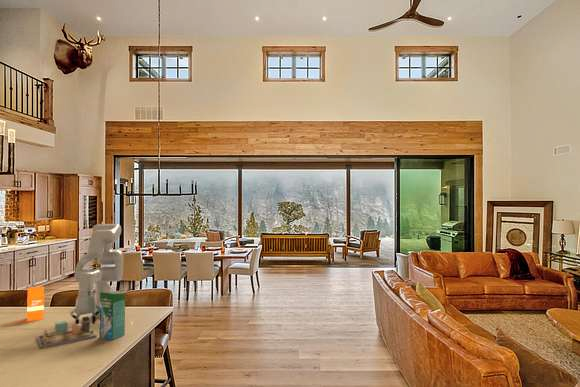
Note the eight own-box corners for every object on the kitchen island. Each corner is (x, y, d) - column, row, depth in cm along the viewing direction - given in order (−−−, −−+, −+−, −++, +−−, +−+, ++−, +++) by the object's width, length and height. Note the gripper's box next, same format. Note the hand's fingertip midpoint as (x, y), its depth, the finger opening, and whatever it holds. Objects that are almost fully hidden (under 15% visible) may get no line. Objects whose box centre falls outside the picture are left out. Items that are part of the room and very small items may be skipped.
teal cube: (65, 329, 208) (65, 320, 208) (67, 332, 204) (67, 322, 204) (55, 331, 205) (55, 322, 205) (56, 334, 201) (56, 324, 201)
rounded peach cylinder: (80, 332, 204) (80, 322, 205) (81, 334, 201) (81, 324, 201) (71, 333, 202) (71, 324, 202) (72, 335, 198) (72, 326, 198)
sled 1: (87, 329, 216) (87, 315, 216) (89, 332, 210) (89, 318, 210) (44, 337, 202) (44, 322, 203) (45, 341, 197) (45, 326, 197)
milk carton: (124, 334, 207) (125, 289, 208) (112, 340, 199) (112, 293, 200) (112, 332, 210) (112, 288, 211) (99, 338, 202) (99, 292, 203)
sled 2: (87, 334, 208) (87, 319, 208) (90, 337, 202) (90, 322, 203) (42, 342, 194) (42, 327, 195) (44, 346, 189) (44, 331, 189)
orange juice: (43, 318, 236) (44, 287, 237) (26, 321, 231) (27, 289, 232) (43, 315, 243) (44, 285, 243) (27, 318, 238) (27, 286, 238)
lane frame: (89, 328, 218) (89, 326, 218) (96, 337, 203) (96, 335, 203) (37, 338, 202) (37, 336, 202) (40, 348, 187) (40, 346, 187)
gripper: (101, 290, 221) (100, 320, 220) (67, 294, 210) (67, 326, 210) (104, 292, 215) (103, 323, 215) (69, 297, 204) (69, 329, 204)
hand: (85, 324), depth 212 cm, fingers open, 7 cm apart
